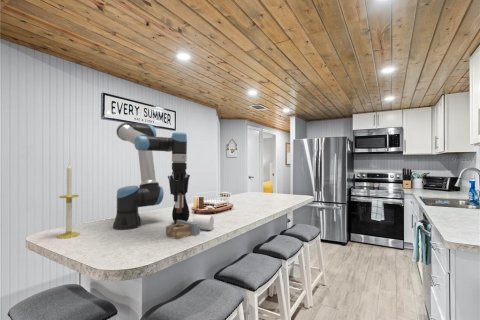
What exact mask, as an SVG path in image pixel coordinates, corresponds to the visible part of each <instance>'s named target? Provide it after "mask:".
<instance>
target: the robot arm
mask: <svg viewBox="0 0 480 320" xmlns="http://www.w3.org/2000/svg"><path fill="white" fill-rule="evenodd" d="M171 134H172V135H171V137H167V136H166V137H164V136H157V131H156V128H155V127H154V126H153V125H152V124H148V123H138V122H132V121H131V122H129V121H128V122H124V123H121V124H119V125H118V126H117V128H116V135H117V138H119V139H120V140H122V141H124V142H129V143H131V144H133V145H134V147H135V149H136V150H137V152H138V153H137V154H138V162H139V170H140V180H141V183H139V185H129V186H123V187H119V188H118V189H117V191H116V197H115V198H116V213H115V214H116V215H115V216H114V220H113V224H112V226H113V227H112V228H113V229H115V230H121V231H122V230H133V229H137V228H140V227H141V226H142V220H141V216H140V214H139V208H143V207H151V206H158V205H160V204H161V203H162V202H163V199H164V193H165V192H164V188H163V186H160V184H159V182H158V181H157V180H156V172H155V171H156V170H155V163H154V155H153V152H165V153H166V152H167V153H168V152H171V162H172V163H171V170H172V172H171V174H169V175H167V179H168V182H169V191H170V195H172V196H173V202H174V204H175V208H179V195H178V191H179V186H180V193H182V207H183V201H184V195H185V196H186V194H187V193H188V189H189V180H190V176H191V175H190V174H188V173H187V167H188V166H187V164H188V163H187V161H188V160H187V159H188V157H187V156H188V155H187V153H188V151H187V149H188V139H187V137H188V136H187V133H186V132H179V131H177V132H175V131H174V132H173V133H171Z"/></svg>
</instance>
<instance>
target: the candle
mask: <svg viewBox="0 0 480 320" xmlns="http://www.w3.org/2000/svg"><path fill="white" fill-rule="evenodd" d="M72 171H73V168H72V166H71V164H70V162H69V163H68V166H67V167H66V194H65V195H59V198H60V199H65V202H66V203H65V232H64V233H60V234H58V235H57V239H62V238H63V239H71V237H72V238H76V237H79V236H80V235H81V233H80V232H77V231H73V227H72V226H73V225H72V224H73V198H78V197H79V196H80V195H79V194H72V191H73V190H72V189H73V188H72V186H73V183H72V182H73V181H72V180H73V179H72V177H73V174H72V173H73V172H72ZM78 235H79V236H78Z"/></svg>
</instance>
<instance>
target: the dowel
mask: <svg viewBox="0 0 480 320" xmlns="http://www.w3.org/2000/svg"><path fill="white" fill-rule="evenodd" d="M178 195H179V208H177V213H182V193H178Z"/></svg>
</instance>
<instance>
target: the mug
mask: <svg viewBox="0 0 480 320" xmlns="http://www.w3.org/2000/svg"><path fill="white" fill-rule="evenodd" d="M192 223H197V225H198V226H200V231H201V230H202V231H203V230H204V231H212V230H213V227H214V216H213V215H206V214H205V215H204V214H194V216H193V218H192Z"/></svg>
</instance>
